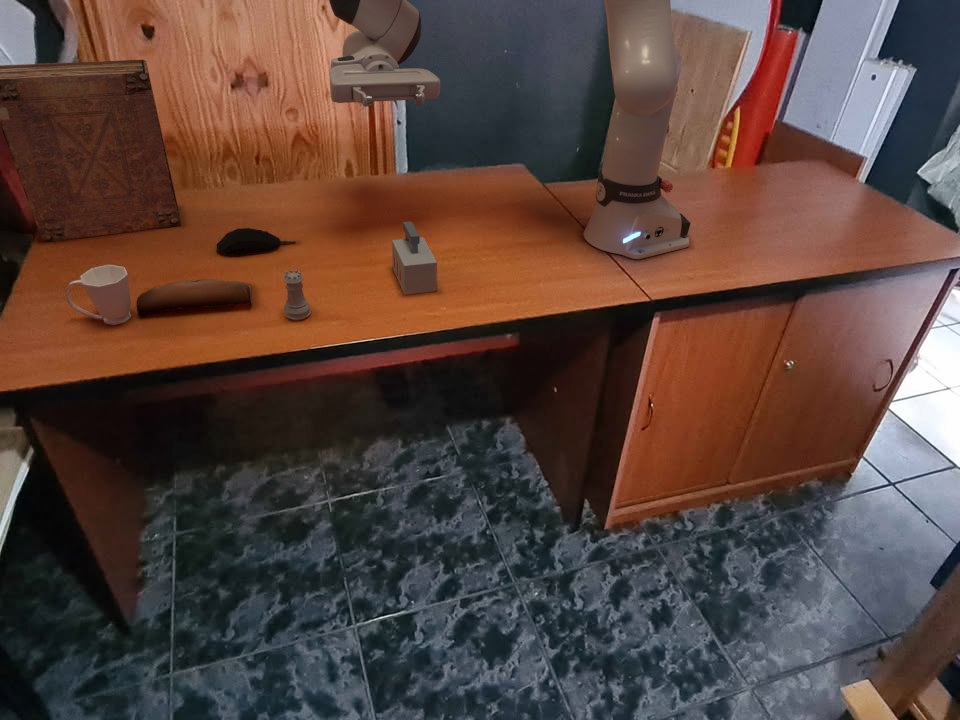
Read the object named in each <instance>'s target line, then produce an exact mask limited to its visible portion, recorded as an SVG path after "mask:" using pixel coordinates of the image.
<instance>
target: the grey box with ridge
mask: <svg viewBox="0 0 960 720" xmlns="http://www.w3.org/2000/svg"><path fill="white" fill-rule="evenodd" d="M402 224H403V226H402V227H403V229H402V230H403V232H404V238H401V239H400V238H399V239H392V240H391V254H392V255H391V256H392V257H391V258H392V270H393V273H394V274H395V277H396V280H397V282H398V284H399V285H400V288H401V290H402V293H403V294H404V295H405V296H406V295H408V296H409V295H416V294H424V293H431V292H437V291H438V290H437V287H438V285H437V284H438V275H437V274H438V262H437V259H436V258H435V256H434V255H433V252H432V251H431V249H430V247H429V245H428V244H427V242H426V240H425V238H424V237H423V236H422V237H421V236H420V234H419V232H418V230H417V228H416V227H415V225H414V223H413V222H412V221H403V223H402Z"/></svg>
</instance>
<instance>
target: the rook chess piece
mask: <svg viewBox="0 0 960 720" xmlns="http://www.w3.org/2000/svg"><path fill="white" fill-rule="evenodd" d="M282 280H283V282H284V283H285V284H286V285H285V289H286V291H287V294H286V295H287V297H286V298H287V299H286V301H285V304H284V306H283V310H284V313H283V314H284V316H285V317H286V318H287V319H288V320H291V321H302V320H305V319H307V318H308V317H309V316H310V315H311V312H312V309H311V305H310V303H309V302H308V301H307V299H306V298H305V295H304V291H303V288H304V285H303V283H302V282H303V281H304V275H302V273H301V271H299V270H298V269H294V271H293V269H289V271H287V270H286V271H285V273H284V276H283V278H282Z"/></svg>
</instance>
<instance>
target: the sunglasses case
mask: <svg viewBox="0 0 960 720" xmlns="http://www.w3.org/2000/svg"><path fill="white" fill-rule="evenodd" d="M136 298H137V299H136V311H137V315H139V316H140V315H147V314H154V313H163V312H166V311H176V310H180V309H184V310H185V309H200V308H206V307H207V308H208V307H223V306H224V307H225V306H238V305H249V306H253V287H252V284H251V283H247V282H245V281H244V282H242V281H235V280H222V279H213V278H212V279H211V278H199V279H197V278H194V279H186V280H180V281H175V282H170V283H166V284H162V285H158V286H154V287H152V288H149V289H148V290H147V291H144V292H142V293H140V294H139V295H138V297H136Z"/></svg>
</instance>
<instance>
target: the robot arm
mask: <svg viewBox="0 0 960 720" xmlns="http://www.w3.org/2000/svg"><path fill="white" fill-rule="evenodd" d="M328 2H329V6H330V8H331V10H332V13H333V15H334V16H335V17H336V18H338V19H339V20H341V21H343V22H344V23H346V24H348V25H349V26H352V27H354V29H357V30H355V31H353V32H350V34H349V35H348V36H347V37H346V38H345V39H344V42H343V45H342V51H341V52H342V55H341V57H334V58H332V59H331V61H330V70H329V90H330V92H329V93H330V99H331V101H332V102H333V103H337V104H345V103H346V104H349V103H357V104H361V105H362V106H363V107H364V108H365V107H373V102H395V101H396V102H397V101H413V103H415V105H424V104H425V100H436V99H438V98H439V97H440V95H441V79H440V78H439V76H437V75H436V74H435V73H434V72H431V71H430V70H428V69H426V68H421V67H416V68H414V67H412V68H409V67H408V68H401V67H400V65H401V64H403V63H404V62H405V61H407V60H408V58H409V57H411V55H412V54H413V52H414V51H415V50H416V48H417V46H418V44H419V42H420V40H421V37H422V16H421V12H420V10H419V9H418V8H416V7H415V6H414V5H413V4H411V2H409V1H408V0H328ZM603 3H604V9H605V15H606V23H607V24H606V25H607V38H608V49H609V59H610V68H611V78H612V84H613V85H612V86H613V92H614V97H615V100H614V105H613V109H612V113H611V119H610V123H609V127H608V132H607V136H606V143H605V148H604V154H603V161H602V168H601V169H600V170H599V173H598V178H597V183H596V189H595V202H594V205H593V208H592V212H591V215H590V217H589V220H588V222H587V225H586V227H585V228H584V230H583V233H582V234H583V235H582V236H583V238H584V240H585V241H586V242H587V243H588V244H590V245H591V246H593V247H594V248H596V249H597V250H601V251H603V252H607V253H611V254H617V255H622V256H624V257H627V258H630V259H632V260H641V259H646V258H649V257H650V258H651V257H654V256H659V255H661V254H666V253H671V252H674V251H678V250H682V249H686V248H688V247H689V246H690V238H689V236H688V234H689V231H690V227H691V221H689V220H688V219H687V218H686V217H685V215H683V214H682V213H681V212H680V211H679V210H678V209H677V208H676V206H675V205H674V204H672V203H671V201H669V200H668V199H667V198H666V197H665V196H664V195H663V194H662V191H663V192H664V193H666V194H669V193H671V192H672V191H673V189H674V185H673V183H671V182H669V180H667V179H664V180H663V178H662V177H661V176H659V170H660V165H661V161H662V156H663V152H664V147H665V143H666V139H667V135H668V129H669V125H670V120H671V115H672V111H673V106H674V102H675V97H676V93H677V89H678V84H679V80H680V75H681V69H682V59H681V58H682V57H681V53H680V51H679V49H678V47H677V46H676V45H675V43H674V34H673V33H674V32H673V23H672V22H673V21H672V7H671V0H603Z"/></svg>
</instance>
